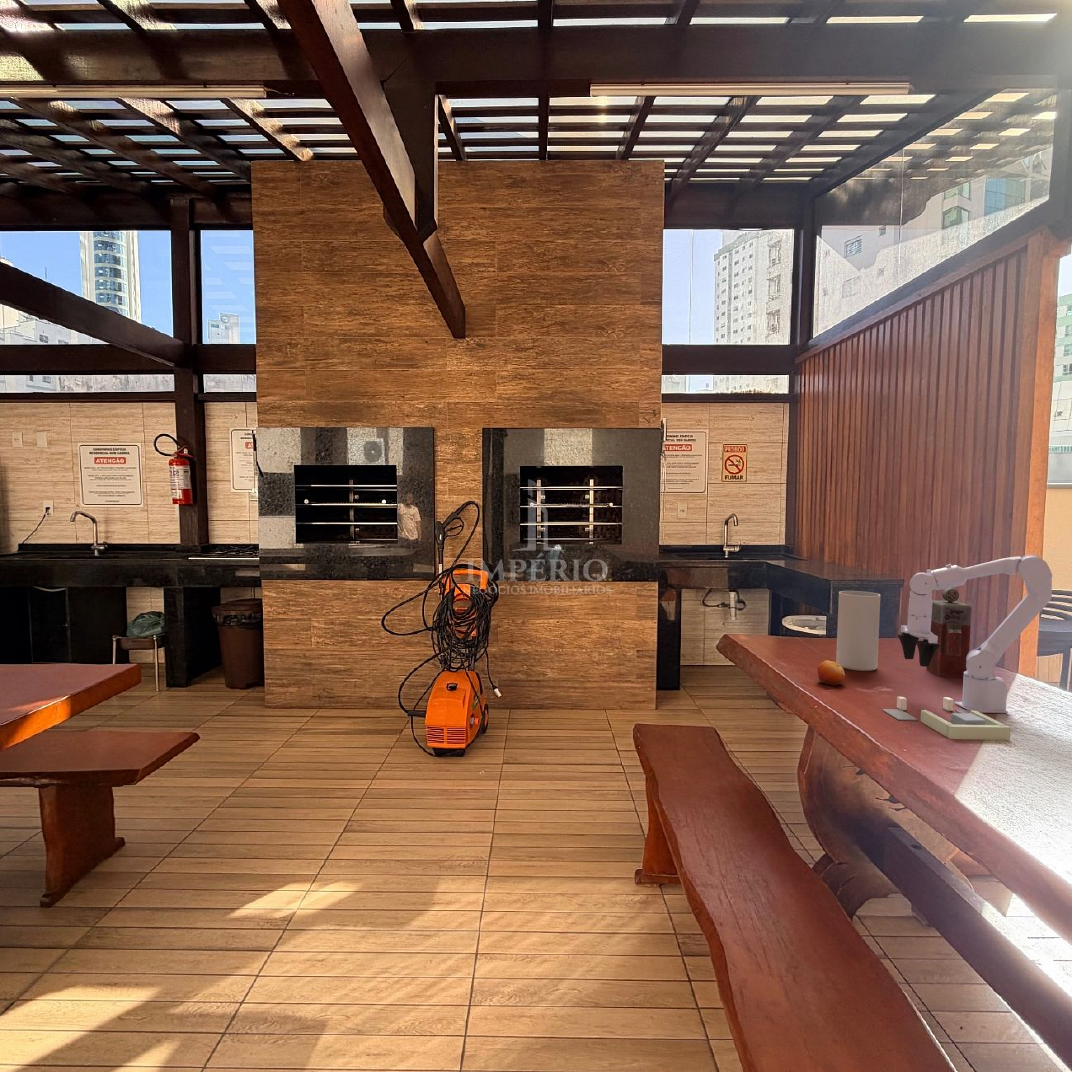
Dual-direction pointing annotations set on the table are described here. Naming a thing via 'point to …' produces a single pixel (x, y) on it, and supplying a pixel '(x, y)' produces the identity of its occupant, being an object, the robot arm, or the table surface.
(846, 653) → the cylinder vase
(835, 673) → the fruit
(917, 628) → the robot arm
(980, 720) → the block
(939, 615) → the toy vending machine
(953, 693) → the table surface
